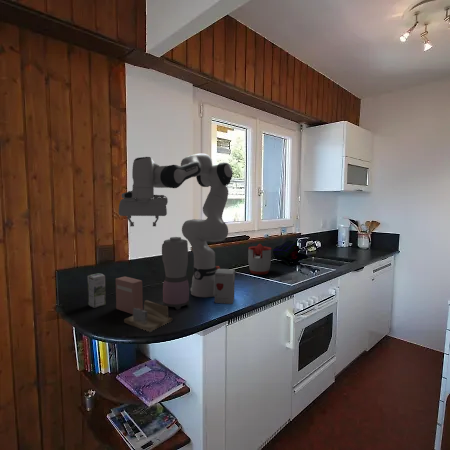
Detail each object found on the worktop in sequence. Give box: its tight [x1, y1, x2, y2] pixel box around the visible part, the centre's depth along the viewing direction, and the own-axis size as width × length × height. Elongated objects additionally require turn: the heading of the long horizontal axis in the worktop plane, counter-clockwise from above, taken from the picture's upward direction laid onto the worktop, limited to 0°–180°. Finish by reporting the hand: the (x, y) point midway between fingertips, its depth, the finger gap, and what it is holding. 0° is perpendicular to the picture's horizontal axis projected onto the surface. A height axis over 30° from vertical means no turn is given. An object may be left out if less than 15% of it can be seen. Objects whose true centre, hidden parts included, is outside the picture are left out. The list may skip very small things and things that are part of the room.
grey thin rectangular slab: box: [132, 307, 148, 325], centre depth 119 cm, size 1×7×5 cm, turn 56°
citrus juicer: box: [247, 243, 272, 276], centre depth 201 cm, size 16×17×20 cm
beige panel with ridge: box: [123, 299, 173, 333], centre depth 122 cm, size 12×15×6 cm
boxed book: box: [115, 275, 144, 315], centre depth 135 cm, size 5×12×14 cm, turn 56°
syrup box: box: [87, 273, 107, 309], centre depth 140 cm, size 6×6×14 cm
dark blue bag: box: [272, 240, 309, 267], centre depth 226 cm, size 21×26×30 cm
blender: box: [161, 236, 190, 310], centre depth 142 cm, size 16×12×32 cm
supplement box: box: [214, 268, 236, 305], centre depth 148 cm, size 9×9×15 cm
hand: (143, 226), depth 131 cm, fingers open, 8 cm apart
